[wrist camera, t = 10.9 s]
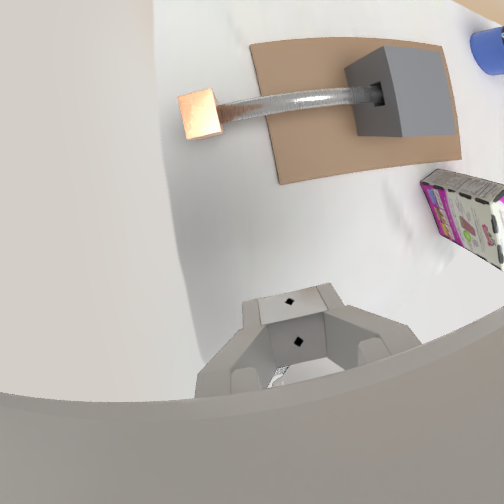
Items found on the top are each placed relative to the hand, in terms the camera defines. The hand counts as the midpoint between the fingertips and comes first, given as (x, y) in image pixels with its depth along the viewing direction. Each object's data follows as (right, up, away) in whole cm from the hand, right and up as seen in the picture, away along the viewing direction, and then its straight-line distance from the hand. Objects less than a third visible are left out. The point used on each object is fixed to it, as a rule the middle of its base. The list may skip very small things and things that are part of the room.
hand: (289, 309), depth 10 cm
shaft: (+4, +19, +20) cm, 28 cm away
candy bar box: (+30, +10, +31) cm, 45 cm away
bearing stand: (+16, +24, +25) cm, 38 cm away
